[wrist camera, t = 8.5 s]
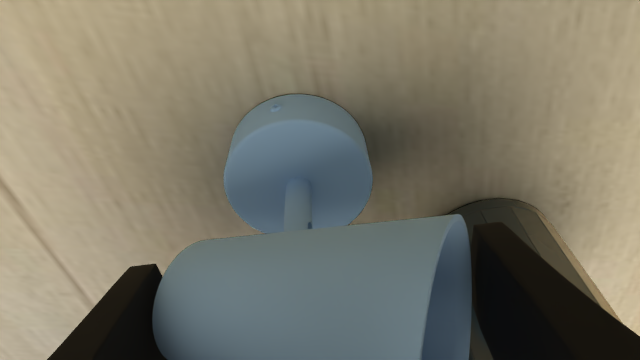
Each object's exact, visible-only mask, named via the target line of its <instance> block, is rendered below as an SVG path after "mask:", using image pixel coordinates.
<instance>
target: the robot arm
mask: <svg viewBox="0 0 640 360" xmlns="http://www.w3.org/2000/svg"><path fill="white" fill-rule="evenodd" d="M471 267H472V304H473V308H474V311H475V314H476V317H477V320H478V323H479V326H480V330H481V332H482V334H483V337H484V339H485V341H486V343H487V346H488V348H489V350H490V353H491V355H492V357H493V359H494V360H640V336H638V335H637V334H636V333H634V332H633V331H632V330H630V329H629V328H628V327H626V326H625V325H624V324H622V323H621V322H620V321H619V320H617V319H616V318H615V317H613V316H612V315H611V314H609V313H608V312H607V311H606V310H604V309H603V308H602V307H601V306H599V305H598V304H597V303H595V302H594V301H593V300H592V299H591V298H589V297H588V296H587V295H586V294H585V293H583V292H582V291H581V290H580V289H578V288H577V287H576V286H575V285H574V284H572V283H571V282H570V281H569V280H568V279H566V278H565V277H564V276H563V275H562V274H560V273H559V272H558V271H557V270H556V269H555V268H553V267H552V266H551V265H550V264H549V263H548V262H547V261H546V260H544V259H543V258H542V257H541V256H540V255H539V254H538V253H536V252H535V251H534V250H533V249H532V248H531V247H530V246H529V245H527V244H526V243H525V242H524V241H523V240H522V239H521V238H520V237H519V236H518V235H516V234H515V233H514V232H513V231H512V230H511V229H510V228H509V227H507V226H506V225H505V224H504V223H503V222H493V223H485V224H477V225H473V234H472V244H471ZM161 280H162V275H161V273H160V271H159V269H158V267H157V265H156V264H149V265H141V266H133V267H130V268H129V269H128V270H127V271H126V272H125V273H124V274H123V275H122V276H121V277H120V278H119V279H118V281H117V282H116V283H115V284H114V285H113V286H112V287H111V288H110V290H109V291H108V292H107V293H106V294H105V295H104V296H103V298H102V299H101V300H100V301H99V302H98V303H97V305H96V306H95V307H94V308H93V309H92V310H91V311H90V313H89V314H88V315H87V316H86V317H85V318H84V319H83V320H82V322H81V323H80V324H79V325H78V326H77V327H76V328H75V329H74V331H73V332H72V333H71V334H70V335H69V336H68V337H67V338H66V340H65V341H64V342H63V343H62V344H61V345H60V346H59V347H58V348H57V350H56V351H55V352H54V353H53V354H52V355H51V356H50V357H49V358H48V359H47V360H167V359H166V358H165V357H164V356H163V355H162V353H161V352H160V350H159V348H158V347H157V344H156V341H155V338H154V334H153V325H152V314H153V306H154V300H155V296H156V293H157V290H158V287H159V284H160V282H161Z"/></svg>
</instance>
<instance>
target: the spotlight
mask: <svg viewBox="0 0 640 360" xmlns="http://www.w3.org/2000/svg"><path fill="white" fill-rule="evenodd" d="M372 183H373V176H372V169H371V164H370V160H369V156H368V151H367V147H366V142H365V139H364V135H363V133H362V131H361V129H360V127H359V125H358V124H357V122H356V121H355V120H354V118H353V117H352V116H351V115H350V114H349V113H348V112H347V111H345V110H344V109H343V108H342V107H340V106H338V105H337V104H335V103H333V102H331V101H329V100H327V99H324V98H321V97H317V96H313V95H305V94H291V95H283V96H279V97H275V98H272V99H270V100H267V101H265V102H263V103H261V104H259V105H258V106H256V107H255V108H253V109H252V110H251V111H250V112H249V113H248V114H247V115H246V116H245V117H244V118H243V119H242V120H241V122H240V123H239V125H238V126H237V128H236V130H235V132H234V135H233V138H232V142H231V146H230V150H229V154H228V158H227V161H226V165H225V169H224V188H225V193H226V196H227V198H228V201H229V203H230V204H231V206H232V208H233V209H234V211H235V212H236V213H237V214H238V215H239V217H241V218H242V219H243V220H244V221H245V222H246V223H247V224H249V225H250V226H252V227H253V228H255V229H257V230H258V231H260V232H263V233H265V234H259V235H249V236H239V237H230V238H220V239H211V240H203V241H199V242H196V243H194V244H191V245H190V246H188V247H187V248H185V249H184V250H183V251H182V252H181V253H180V254H178V255H177V257H176V258H175V259H174V260H173V261H172V263H171V264H170V265H169V267H168V268H167V270H166V272H165V274H164V275H163V277H162V280H161V282H160V284H159V287H158V290H157V293H156V296H155V300H154V306H153V314H152V325H153V334H154V338H155V341H156V344H157V347H158V348H159V350H160V352H161V353H162V355H163V356H164V357H165V358H166V359H167V360H469V350H470V335H471V314H472V267H471V252H470V242H469V236H468V231H467V227H466V223H465V221H464V219H463V217H462V216H461V215H459V214H454V215H444V216H434V217H424V218H415V219H405V220H395V221H385V222H376V223H366V224H356V225H348V224H349V223H351V222H352V221H353V220H354V219H355V218H356V217H357V216H358V215H359V214H360V213H361V211H362V210H363V209H364V207H365V205H366V204H367V202H368V199H369V197H370V194H371V190H372Z"/></svg>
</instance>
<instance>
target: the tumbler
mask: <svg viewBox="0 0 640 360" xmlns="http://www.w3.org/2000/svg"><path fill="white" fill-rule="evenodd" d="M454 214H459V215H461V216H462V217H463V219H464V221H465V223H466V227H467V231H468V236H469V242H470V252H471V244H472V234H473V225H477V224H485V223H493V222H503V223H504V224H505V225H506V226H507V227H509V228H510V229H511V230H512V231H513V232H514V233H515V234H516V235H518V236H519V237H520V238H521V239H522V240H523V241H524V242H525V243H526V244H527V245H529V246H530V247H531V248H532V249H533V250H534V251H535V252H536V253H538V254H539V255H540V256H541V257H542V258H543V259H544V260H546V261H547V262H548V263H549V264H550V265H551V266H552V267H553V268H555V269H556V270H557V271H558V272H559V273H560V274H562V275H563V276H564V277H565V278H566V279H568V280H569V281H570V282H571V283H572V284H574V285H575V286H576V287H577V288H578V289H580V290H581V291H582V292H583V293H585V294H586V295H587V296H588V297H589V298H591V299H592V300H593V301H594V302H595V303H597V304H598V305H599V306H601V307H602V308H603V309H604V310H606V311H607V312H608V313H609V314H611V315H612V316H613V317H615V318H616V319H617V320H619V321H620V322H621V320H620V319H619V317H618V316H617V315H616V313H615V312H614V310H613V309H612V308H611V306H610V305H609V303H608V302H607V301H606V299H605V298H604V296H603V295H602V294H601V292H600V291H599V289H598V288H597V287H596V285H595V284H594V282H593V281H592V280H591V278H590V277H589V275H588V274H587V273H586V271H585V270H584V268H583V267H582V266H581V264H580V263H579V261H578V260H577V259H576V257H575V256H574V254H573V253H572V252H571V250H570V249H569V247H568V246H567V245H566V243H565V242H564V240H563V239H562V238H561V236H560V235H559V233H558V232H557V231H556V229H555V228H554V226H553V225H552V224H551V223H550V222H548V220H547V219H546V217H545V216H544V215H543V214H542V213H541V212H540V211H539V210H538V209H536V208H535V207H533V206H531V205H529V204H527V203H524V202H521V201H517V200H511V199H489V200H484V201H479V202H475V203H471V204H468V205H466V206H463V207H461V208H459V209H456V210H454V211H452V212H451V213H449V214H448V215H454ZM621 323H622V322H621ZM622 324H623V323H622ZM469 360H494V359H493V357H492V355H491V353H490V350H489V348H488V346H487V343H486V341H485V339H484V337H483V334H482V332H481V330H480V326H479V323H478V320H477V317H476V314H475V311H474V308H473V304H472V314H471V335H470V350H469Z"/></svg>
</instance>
